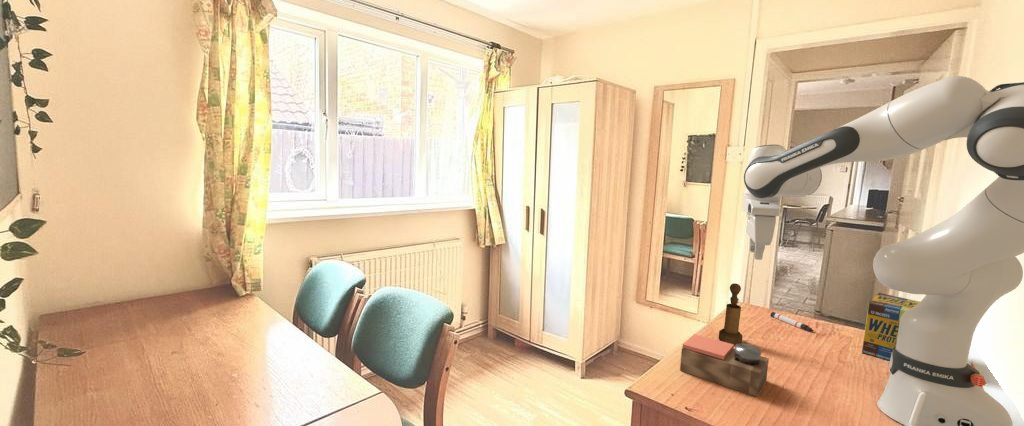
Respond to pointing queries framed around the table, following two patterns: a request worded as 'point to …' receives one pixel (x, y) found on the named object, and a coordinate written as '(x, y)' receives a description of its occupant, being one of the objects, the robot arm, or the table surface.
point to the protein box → (884, 324)
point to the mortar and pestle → (732, 319)
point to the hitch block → (726, 371)
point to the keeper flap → (708, 346)
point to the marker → (791, 321)
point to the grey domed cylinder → (747, 354)
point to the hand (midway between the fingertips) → (755, 255)
